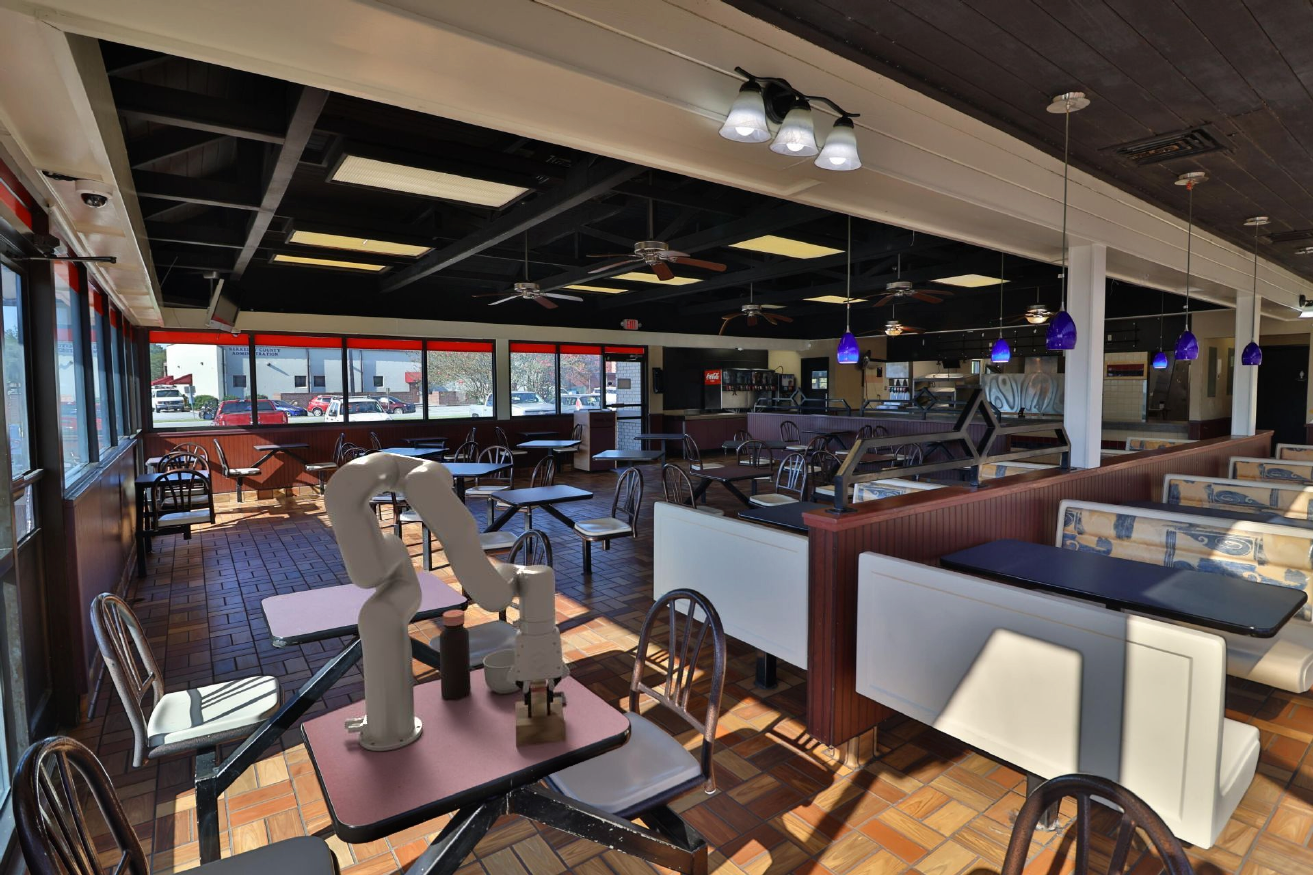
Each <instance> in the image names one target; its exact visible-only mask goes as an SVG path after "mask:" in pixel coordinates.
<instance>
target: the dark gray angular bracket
mask: <svg viewBox="0 0 1313 875" xmlns="http://www.w3.org/2000/svg"><path fill="white" fill-rule="evenodd" d="M553 697H560V698H561V701H562V707H564V706H566V698H565V691H553Z"/></svg>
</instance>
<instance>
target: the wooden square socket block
mask: <svg viewBox="0 0 1313 875" xmlns="http://www.w3.org/2000/svg"><path fill="white" fill-rule="evenodd" d="M514 705H515V747H523V746H524V747H525V746H531V745H532V746H533V745H542V744H550V743H560V742H565V740H566V738H565V736H566V735H565V727H566V726H565V716H564V715H565V714H564V710H563V706H562V698H561V697H553V703H550V709H548V708H547V716H543V717H534V718H532V714H531V710H530V711H528V705H525V704H524V701H515V704H514Z"/></svg>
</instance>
